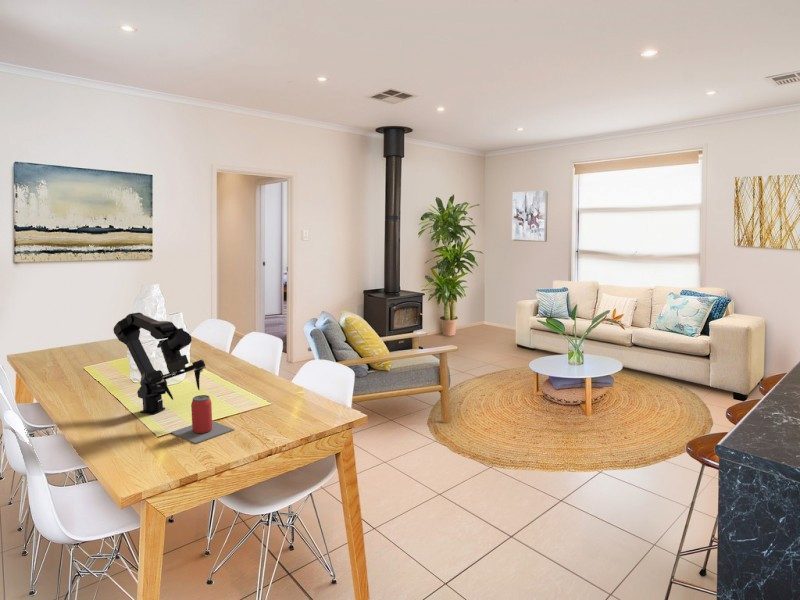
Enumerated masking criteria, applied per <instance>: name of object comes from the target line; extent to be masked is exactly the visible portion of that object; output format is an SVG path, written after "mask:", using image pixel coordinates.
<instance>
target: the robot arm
mask: <svg viewBox="0 0 800 600" xmlns="http://www.w3.org/2000/svg"><path fill="white" fill-rule="evenodd" d="M141 329H143V330H145V331H148V332H149V333H150V334H149V335H150V336H151V337H153V339H155V340H159V341H158V343H157V346H156V347H157V349H161V353H162V355H163V359H164V362H165V365H166V369H167V371H168V373H165V374H164V373H163V371H162V370H161V369H159V370H156V369H155V367H154V365H153V363H152V362H151V360H150V358H149V356H148V354H147V352H146V350H145V348H144V346H143V343H142V342H141V341H140V335H141ZM112 331H113V333H114V335H115V336H116V338H117V340H118V341H119V342H121V343H123V344H124V345H126V347H127V348H128V351H129V353H130V355H131V357H132V359H133V361H134V363H135V366H136V368H137V370H138V371H139V373H140V382H139V383H140V384H139V385H140V387H139V388H138V390H137V392H136V394H137V396H138V398H139V399H142V410H140V411H139V413H141V414H143V413H144V414H149V415H155V414H157V413H160V412H162V411H164V410H166V407H165V406H164V405H163V403H164V401H163V398H162V395H165V394H167V395H168V396H169V397H170V399H171V400H172V401H174V398H173V395H172V393H171V390H170V388H169V386H168V382H167V380H168V379H172V378H174V377H177V376H180V375H183V374H185V373H189V372H191V371H194V378H195V383H196V387H197V390H198V391H200V390H201V389H200V375H201V373H202V372H204V369H206V363H205V361H204V360H203V359H199V360H196V361H193V362H192V364H190V363H189V359H188V356H187V354H183V355H182V354H181V351H182V350H183V349H184V348H186V347H188V346H189V345H190V344H191V343H192V336H191V334H189V332H187V331H186V330H184V329H183V327H180V328H178V327H177V326H176V325H175V324H174V323H173V321H167V320H156V319H154V318H152V317H149V316H147V315H144V314H143V313H142V312H135V313H134V312H131V313H128V314H127V315H126V316H125V317H123V318H122V319H121V320H119V321H118V322H117V323H115V325H114V327H113V328H112ZM188 364H190V365H188ZM186 365H188V366H186Z"/></svg>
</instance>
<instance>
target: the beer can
mask: <svg viewBox="0 0 800 600" xmlns="http://www.w3.org/2000/svg"><path fill="white" fill-rule="evenodd" d="M210 398H211V397H210V395H207V394H201V395H195V396H193V398H192V399H191V405H190V406H191V425H192V430H193V432H195V433H206V432H209V431H211V429H212V421H213V411H212V410H213V407H212V400H211V399H210Z"/></svg>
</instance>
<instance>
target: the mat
mask: <svg viewBox="0 0 800 600" xmlns="http://www.w3.org/2000/svg"><path fill="white" fill-rule="evenodd" d="M233 431H235V429H234V428H232V427H229V426H227V425H224V424H222V423H219V422H217V421H214V420H212V429H211V431H209V432H206V433H195V432H193V430H192V424H191V425H187V426H185V427H182V428H179V429H175V430H173V431H171V432H170V434H172V435H174V436H176V437H178V438H180V439H183V440H184V441H187V442H190V443H192V444H195V445H198V444H200V443H203V442H205V441H209V440H211V439H213V438H217V437H219V436H222V435H225V434H227V433H231V432H233Z"/></svg>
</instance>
